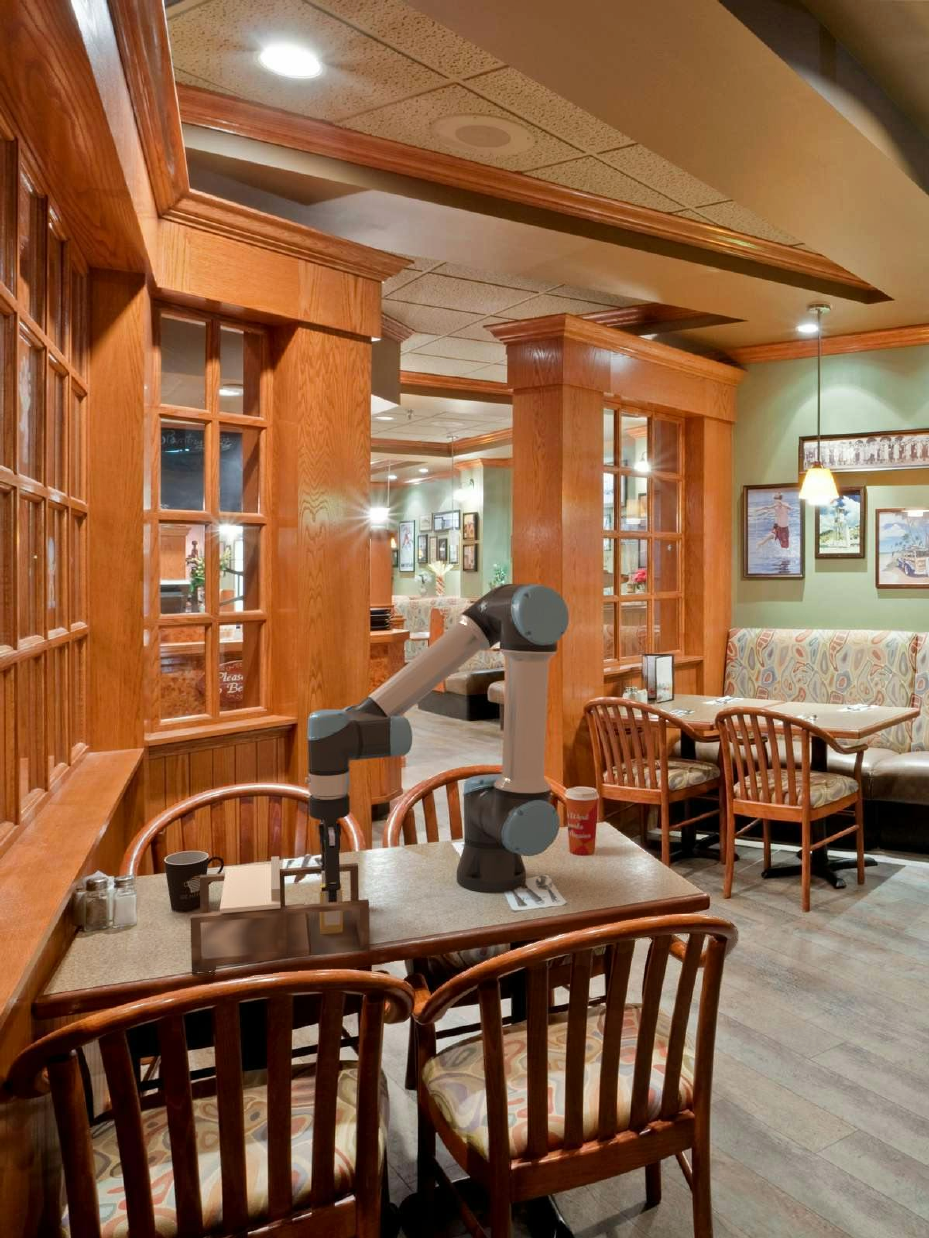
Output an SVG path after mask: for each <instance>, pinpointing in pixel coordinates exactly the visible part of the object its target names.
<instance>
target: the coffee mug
mask: <svg viewBox="0 0 929 1238" xmlns="http://www.w3.org/2000/svg"><path fill="white" fill-rule="evenodd" d="M209 856H210V855H209V854H208V853H207V852H205V851H201V850H186V851H179V852H175V853H172V854H169V855H167V856H165V857H164V859H163V863H164V868H165V869H164V870H165V874H166V875H165V876H166V882H167V889H168V895H169V903H170V909H171V911H174V912H177V913H189V912H193V911H194V912H195V911H198V910H201V906H200V875H208V867H209V865H210V864H211V862H213V861H215V860H218V861H219V862H220V868H219V870H218V871H217V872H216V874H221V873H222V871H223V870H224V867H225V862H224V860H223V858H221V857H220V856H212V857H210V858H209ZM211 883H213V882H209V885H211Z"/></svg>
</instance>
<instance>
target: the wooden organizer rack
mask: <svg viewBox="0 0 929 1238" xmlns="http://www.w3.org/2000/svg"><path fill="white" fill-rule="evenodd" d="M279 870H280V908H278V909H266V910H255V911H243V912H231V913H220V910H215V911H210V884H209V882H212V883H218V882H224V879H225V872H221V873H220V874H217V873H213V874H210V873H209V874H208V873H207V875H200V906H201V908H200V913H194V914H192V913H191V914H190V917H189V919H190V920H189V921H190V953H191V961H190V962H191V963H190V964H191V974H192V975H194V974H193V973H197V972H209V971H215V972H216V969H217V966H221V965H223V966H224V965H232V964H240V963H241V964H242V963H253V962H262V961H263V962H264V961H271V960H272V961H273V960H282V959H291V958H292V959H294V958H302V957H305V958H306V957H315V956H323V955H333V954H335V955H336V954H346V953H355V952H363V951H365V952H366V951H370V949H371V947H370V946H371V944H370V943H371V940H370V939H371V938H370V937H371V936H370V932H371V931H370V902H369V901H370V900H369V898H367V899H360V898H359V897H360V893H359V889H360V888H359V887H360V886H359V863H358V862H353V863H341V864H340V873H343V872H349V878H350V879H349V885H350V886H349V889H350V894H349V895H350V896H349V898H350V900H346V901H345V900H342V902H330V903H319V902H318V903H309V904H305V903H297V904H286V892H285V891H286V889H285V887H286V885H285V883H286V882H285V881H286V880H285V879H286V878H285V877H291V876H293V877H294V876H304V875H316V874H322V871H325V870H322V868H321V865H314V866H303V867H302V866H301V867H289V868H287V867H286V868H279ZM340 910H343V932H340V933H329V934H321V931H320V912H329V911H340ZM209 973H210V972H209Z"/></svg>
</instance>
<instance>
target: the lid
mask: <svg viewBox="0 0 929 1238" xmlns="http://www.w3.org/2000/svg"><path fill="white" fill-rule="evenodd" d="M270 860H271V861H270V864H269V863H268V864H267V863H265V864H255V865H244V866H243V865H242V866H229V867H227V866H226V868H225V872H224V873H225V879H224V881H223V887H222V892H221V900H220V906H219V911H220V913H231V912H243V911H255V910H266V909H278V908H280V870H279V869H280V855H278V856H271V857H270Z"/></svg>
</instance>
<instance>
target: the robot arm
mask: <svg viewBox="0 0 929 1238" xmlns="http://www.w3.org/2000/svg"><path fill="white" fill-rule="evenodd" d="M569 616H570V614H569V610H568V606H567V604H566V602H565V599H564V598H563V597H562V596H561V595H560V593H558V591H556V590H555V589H554V588H552V587H549V586H547V585H546V586H545V585H542V584H536V583H529V584H525V583H523V584H519V583H518V584H517V583H506V584H505V583H504V584H502V585H499V586H497V587H494V588H492V590H490V591H488V592H487V593H486V594H484V595H482V596H481V597H480V598H478V599H477V600H476V601H475V602H474V603H472V604H471V605H470V606H469V607H468V608H466V609H465V610H463V612H461V613H460V615H458V617H457V623H456V624H454V625H453V626H452V627H451V628H450V629H448V630H447V631H446V632H445V633H443V634H442V635H441V636H440V637H439V638H437V639H436V640H435V641H434V642H433V643H431V644H430V645H429V646H428V647H426V648H425V649H424V650H423V651H422V652H420V653H419V654H418V655H417V656H415V658H413V659H411V661H409V662H408V663H407V664H406V665H404V667H402V668H401V669H399V670H398V671H397V672H396V673H395V674H393V675H392V676H391V677H389V679H387V680H386V681H385V682H384V683H383V684H381V685H380V686H379V687H378V688H376V690H373V691H372V693H370V694H369V695H367V696H366V698H364V699H363V700H361V701H360V702H359V703H358V704H356V705H355V704H354V705H349V706H346V707H344V708H343V709H320V710H318V709H317V710H315V711H313V712H311V713H310V714H309V715H308V719H307V732H306V733H307V735H306V739H307V757H308V763H307V764H308V767H307V768H308V769H307V770H308V776H309V777H305V778H304V782H305V783H307V784H308V793H309V794H310V796H309V797H308V814H309V815H308V816H309V817H311V818H312V819H314V820H317V821H318V820H320V824H319V823H318V826H317V827H318V835H319V836H318V837H319V844H320V848H321V849H320V854H321V855H320V856H321V857H320V862H321V865H320V866H321V868H322V870H325V871H322V873H321V884H324V883H325V887H322V888H321V891H324V892H325V903H330V902H340V889H341V886H342V884H341V885H340V882H341V872H340V850H341V836H342V827H341V822H337V821H338V820H339V819H343V818H346V817H348V816H349V815H350V814H351V813H350V812H351V802H350V801H351V800H350V799H351V797H350V795H349V793H350V791H351V786H350V784H351V779H350V778H351V777H350V776H351V774H350V773H351V771H350V761H360V760H370V759H371V760H372V759H384V758H392V759H393V758H395V757H400V756H404V755H407V754H408V753H409V752H410V751H411V748H412V745H413V730H412V726H411V723H410V721H409V719H408V718H406V717H405V716H403V715H405V714H406V713H407V712H408V711H410V710H411V708H413V707H414V706H415V705H416V704H418V703H419V702H420V701H421V700H423V698H425V697H426V696H427V695H428V694H429V693H431V692H432V691H433V690H435V688H436V687H438V686H440V685H441V683H443V682H444V681H445V680H446V679H448V678H449V677H450V676H452V675H453V673H455V672H456V671H457V670H459V669H460V668H461V667H462V666H464V665H465V664H466V663H467V662H468V661H469V660H471V659H472V658H473V657H474V656H476V655H477V654H478V653H479V652H480V651H484V652H487V651H489V650H490V649H491V648H493V647H494V646H495V645H497V644H499V651H500V652H501V653H502V655H504V656H505V657H504V658H506V662H505V663H506V666H505V668H506V669H505V686H504V687H505V689H504V710H503V711H504V712H503V713H504V716H503V736H502V737H503V738H502V741H503V742H502V760H501V761H502V762H501V763H502V765H501V766H502V767H501V773H496V774H495V773H493V774H492V773H490V774H483V775H482V774H481V775H475V776H470V777H468V778H467V779H465V781H464V786H463V792H462V797H463V825H464V828H463V831H464V832H463V834H464V846H463V847H462V848H463V849H462V853H461V856H460V858H459V862H458V865H457V867H456V883H457V884H458V885H459V886H461V887H463V888H465V889H467V890H471V891H476V892H483V893H497V892H507V891H511V890H516V889H518V888H520V887H522V886H523V885H525V883H526V882H527V870H526V866H525V864H524V861H523V858H522V856H523V857H533V856H537V855H541V854H542V853H544V852H545V851H546V850H547V849H548V848H549V847H550V846H551V845H553V843H554V842H555V840H556V839H557V836H558V834H559V831H560V825H561V824H560V821H561V820H560V816H559V813H558V811H557V809H556V808H555V807H554V805H553V804H551V795H552V794H551V793H552V786H551V784H550V783H549V782H548V781H547V780H546V779H545V760H546V759H545V757H546V756H545V755H546V738H547V737H546V736H547V734H546V733H547V717H548V715H547V713H548V711H547V710H548V694H549V693H548V689H549V670H550V669H549V667H550V665H549V664H550V660H551V659H552V658H553V657H554V656H555V655H556V654H558V641H559V640H561V639H562V636H563V635H564V634H565V633H566V632H567V630H568V626H569V621H570V620H569V619H570V617H569ZM330 883H331V884H330ZM339 924H340V911H329V912H325V926H328V925H339Z"/></svg>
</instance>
